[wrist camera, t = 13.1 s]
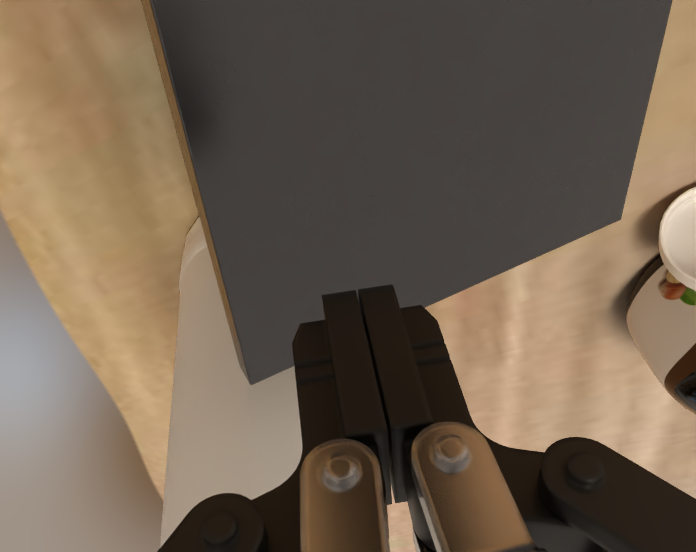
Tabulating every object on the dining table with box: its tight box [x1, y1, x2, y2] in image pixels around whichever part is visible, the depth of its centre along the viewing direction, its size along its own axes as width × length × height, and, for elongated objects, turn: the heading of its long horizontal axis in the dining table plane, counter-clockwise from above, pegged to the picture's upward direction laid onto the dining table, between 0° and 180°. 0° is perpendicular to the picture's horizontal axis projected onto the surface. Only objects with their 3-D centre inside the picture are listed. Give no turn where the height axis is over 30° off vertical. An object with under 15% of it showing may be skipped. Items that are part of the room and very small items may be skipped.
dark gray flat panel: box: [141, 0, 672, 385], centre depth 20 cm, size 16×13×1 cm
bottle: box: [160, 217, 302, 548], centre depth 27 cm, size 8×8×30 cm
